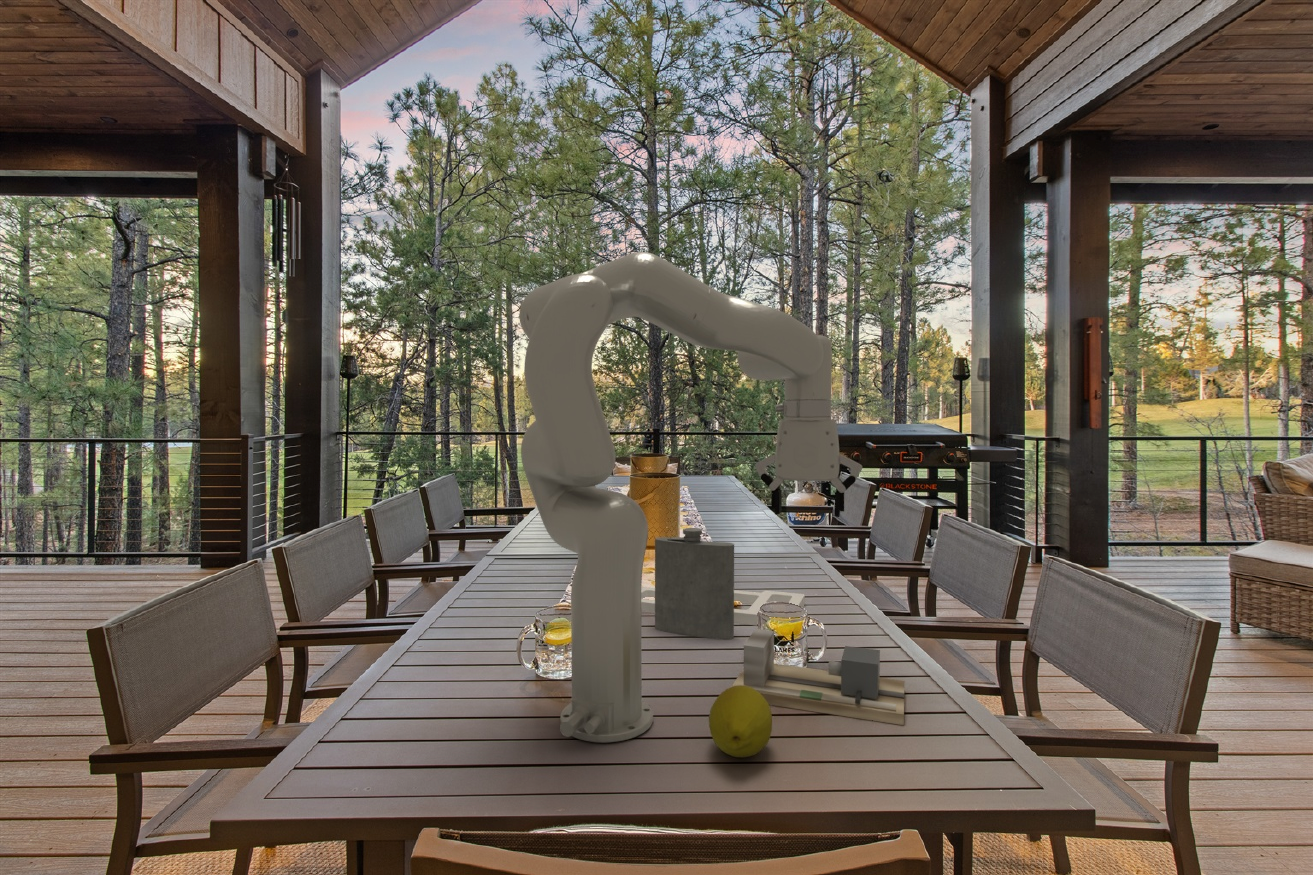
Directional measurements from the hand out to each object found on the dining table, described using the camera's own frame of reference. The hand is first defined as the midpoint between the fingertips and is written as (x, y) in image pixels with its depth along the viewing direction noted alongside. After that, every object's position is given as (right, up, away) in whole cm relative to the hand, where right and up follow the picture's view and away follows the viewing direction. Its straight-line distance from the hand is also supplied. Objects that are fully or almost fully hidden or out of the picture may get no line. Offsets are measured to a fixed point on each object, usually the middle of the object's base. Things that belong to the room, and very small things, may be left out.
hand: (807, 514), depth 113 cm
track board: (-1, -26, -11) cm, 28 cm away
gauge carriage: (+3, -24, -14) cm, 28 cm away
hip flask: (-18, -25, +17) cm, 35 cm away
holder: (-17, -24, +35) cm, 46 cm away
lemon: (-15, -27, -28) cm, 42 cm away
